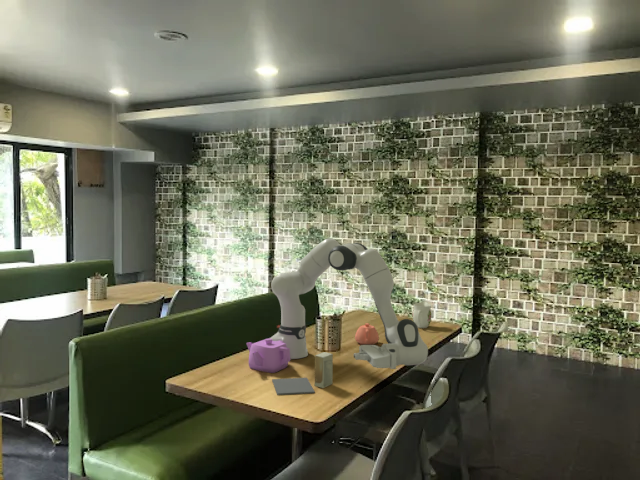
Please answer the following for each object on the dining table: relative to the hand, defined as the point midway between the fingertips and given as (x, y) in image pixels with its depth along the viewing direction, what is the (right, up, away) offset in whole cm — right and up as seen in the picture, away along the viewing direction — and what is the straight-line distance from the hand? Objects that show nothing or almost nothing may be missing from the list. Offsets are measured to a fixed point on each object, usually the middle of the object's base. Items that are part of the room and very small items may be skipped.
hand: (354, 356), depth 204 cm
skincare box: (-12, -11, -2) cm, 17 cm away
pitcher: (+46, -6, +101) cm, 111 cm away
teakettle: (-36, -9, +19) cm, 42 cm away
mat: (-24, -11, -4) cm, 27 cm away
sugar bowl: (+10, -8, +62) cm, 63 cm away
